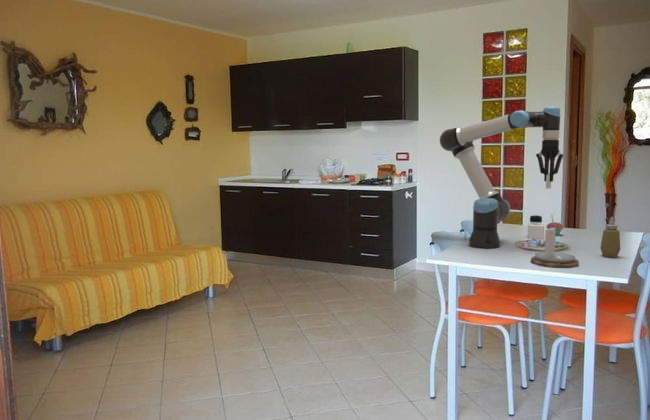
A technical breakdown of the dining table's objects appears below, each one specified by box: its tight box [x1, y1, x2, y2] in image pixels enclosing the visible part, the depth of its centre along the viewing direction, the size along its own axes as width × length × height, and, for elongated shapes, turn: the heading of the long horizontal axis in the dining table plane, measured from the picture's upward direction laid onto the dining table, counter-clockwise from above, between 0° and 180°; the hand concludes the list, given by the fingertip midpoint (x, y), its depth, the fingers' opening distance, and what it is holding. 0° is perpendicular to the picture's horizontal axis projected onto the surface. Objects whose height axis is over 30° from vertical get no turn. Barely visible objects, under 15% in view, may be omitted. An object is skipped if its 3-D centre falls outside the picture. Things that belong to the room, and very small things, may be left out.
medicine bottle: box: [527, 214, 545, 240], centre depth 302 cm, size 7×7×12 cm
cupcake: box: [546, 214, 564, 237], centre depth 310 cm, size 9×8×12 cm
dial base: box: [530, 255, 580, 269], centre depth 239 cm, size 19×19×2 cm
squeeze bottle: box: [599, 216, 621, 258], centre depth 251 cm, size 8×8×18 cm
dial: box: [534, 228, 576, 263], centre depth 238 cm, size 16×16×14 cm
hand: (548, 188), depth 271 cm, fingers closed
